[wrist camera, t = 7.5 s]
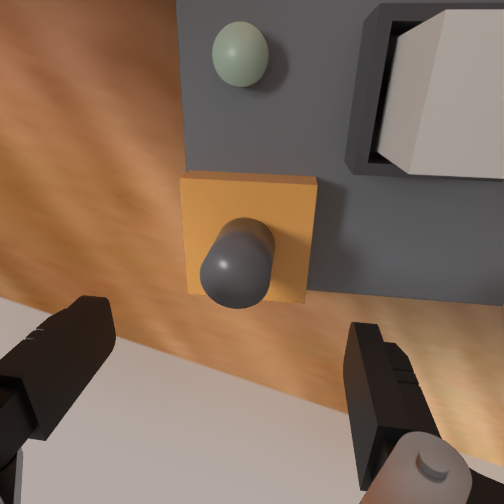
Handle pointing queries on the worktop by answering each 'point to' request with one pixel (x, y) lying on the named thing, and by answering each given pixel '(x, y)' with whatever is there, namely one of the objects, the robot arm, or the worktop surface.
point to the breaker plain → (447, 97)
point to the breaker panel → (337, 141)
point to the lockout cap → (247, 235)
